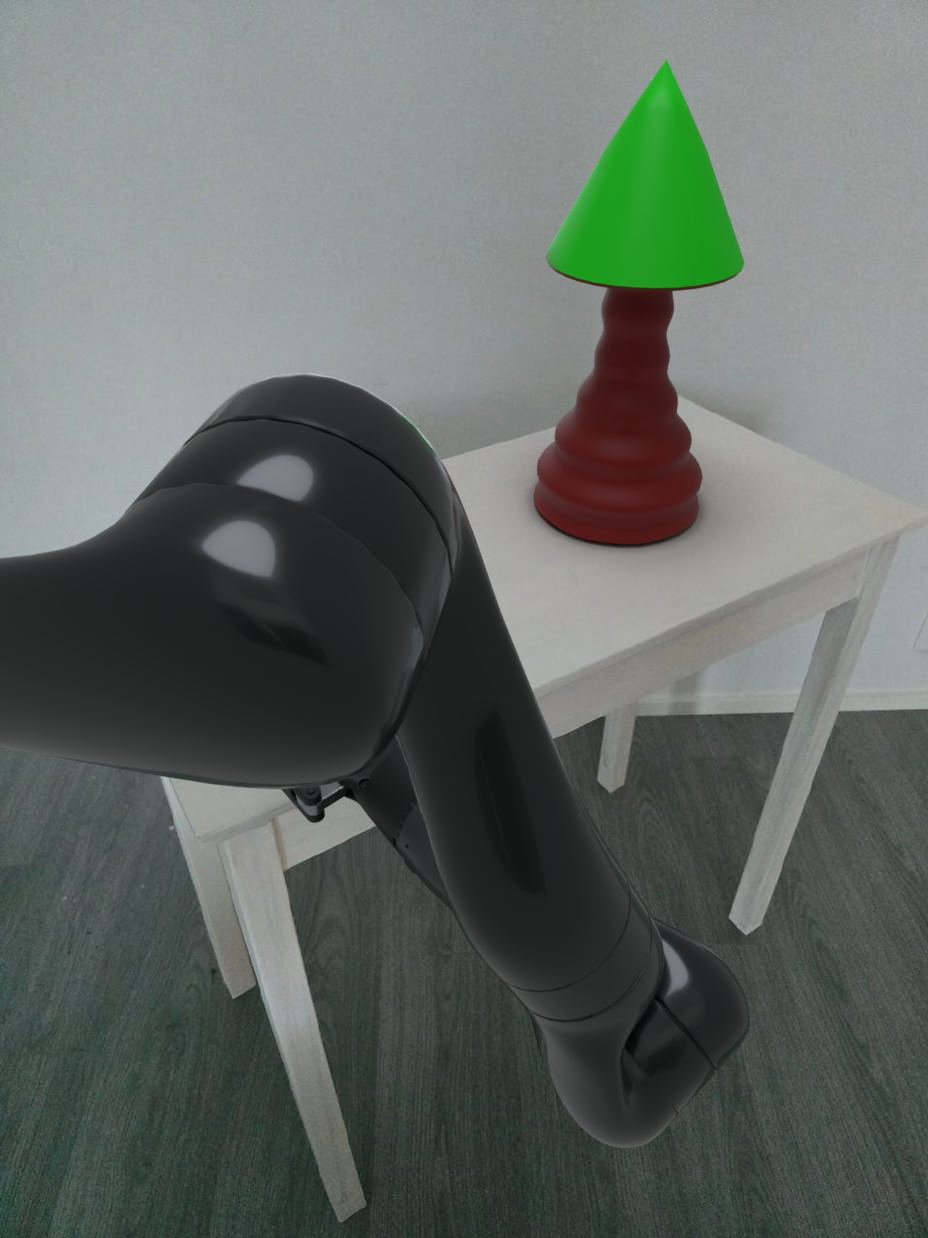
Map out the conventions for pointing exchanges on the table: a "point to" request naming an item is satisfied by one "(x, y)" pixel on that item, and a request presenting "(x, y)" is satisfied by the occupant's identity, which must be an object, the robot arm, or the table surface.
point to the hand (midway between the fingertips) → (323, 680)
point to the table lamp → (636, 325)
